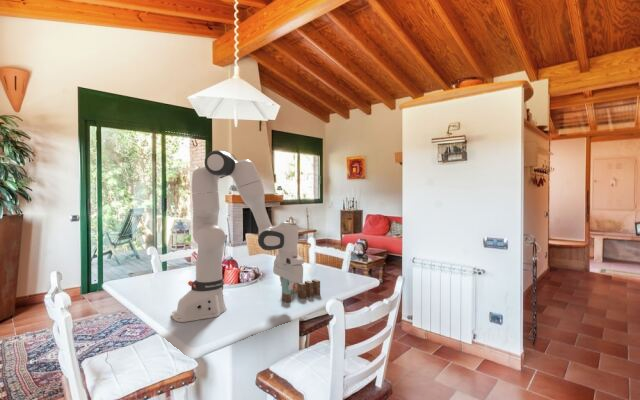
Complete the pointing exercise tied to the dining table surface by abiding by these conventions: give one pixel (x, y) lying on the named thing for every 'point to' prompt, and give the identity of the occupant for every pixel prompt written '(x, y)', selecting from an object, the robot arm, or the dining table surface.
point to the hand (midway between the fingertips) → (286, 287)
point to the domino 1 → (286, 297)
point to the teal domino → (285, 286)
